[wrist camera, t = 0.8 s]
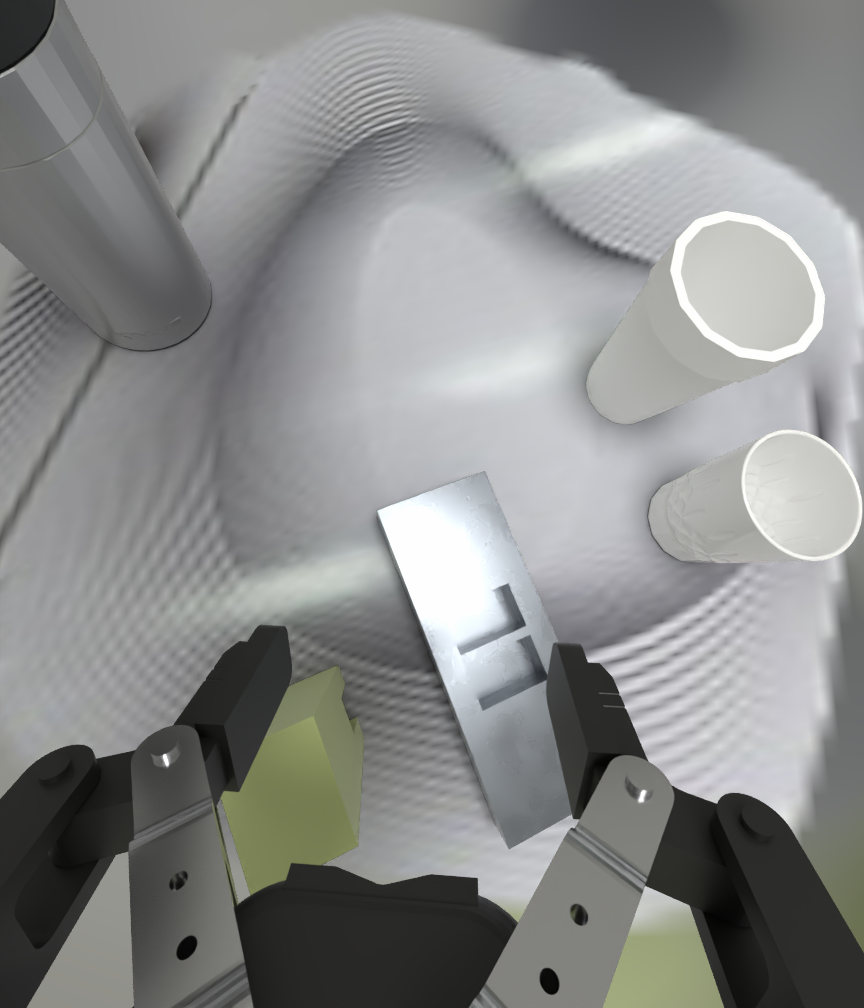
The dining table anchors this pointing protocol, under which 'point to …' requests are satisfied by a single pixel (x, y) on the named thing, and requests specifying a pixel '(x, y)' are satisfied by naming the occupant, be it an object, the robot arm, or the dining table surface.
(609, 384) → the foam cup
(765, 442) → the white cup
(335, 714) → the olive green rectangular block
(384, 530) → the grey flat block
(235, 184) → the dining table surface
